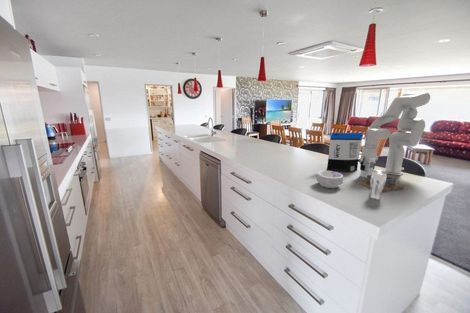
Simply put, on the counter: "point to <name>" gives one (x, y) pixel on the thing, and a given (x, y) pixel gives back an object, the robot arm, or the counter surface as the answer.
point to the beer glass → (377, 184)
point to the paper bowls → (329, 179)
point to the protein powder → (344, 152)
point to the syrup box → (368, 168)
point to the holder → (388, 186)
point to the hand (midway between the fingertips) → (367, 169)
